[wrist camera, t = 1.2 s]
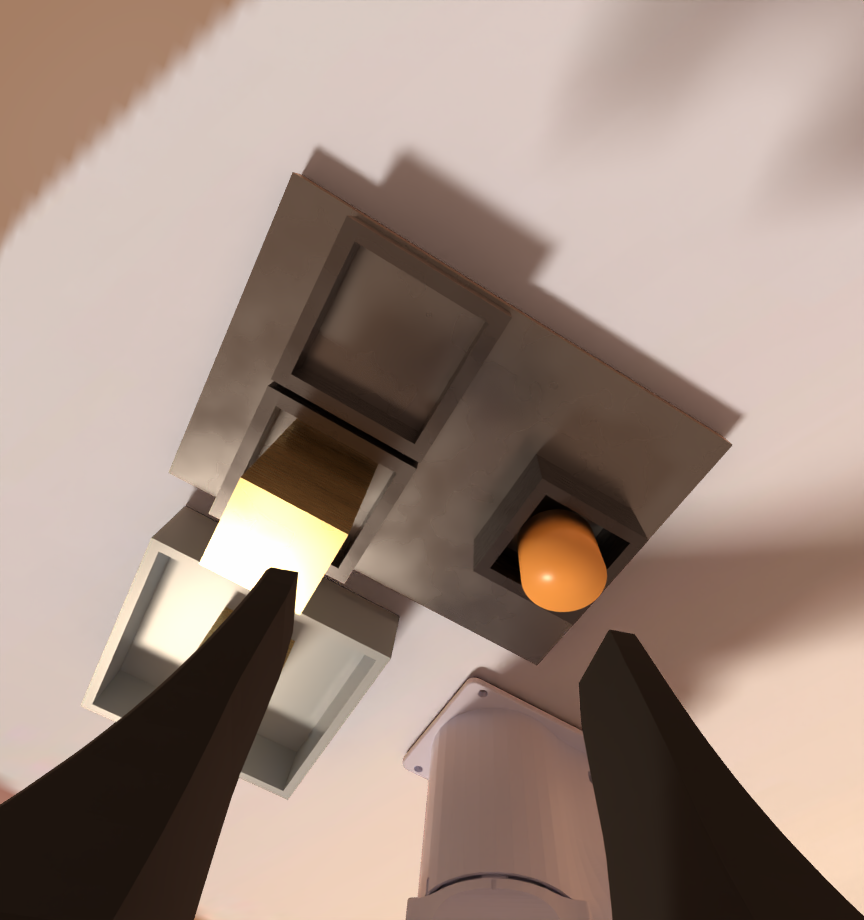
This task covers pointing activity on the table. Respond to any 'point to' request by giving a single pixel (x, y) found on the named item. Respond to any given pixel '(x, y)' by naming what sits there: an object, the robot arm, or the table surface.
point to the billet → (291, 511)
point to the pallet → (436, 418)
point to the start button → (560, 561)
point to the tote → (190, 619)
